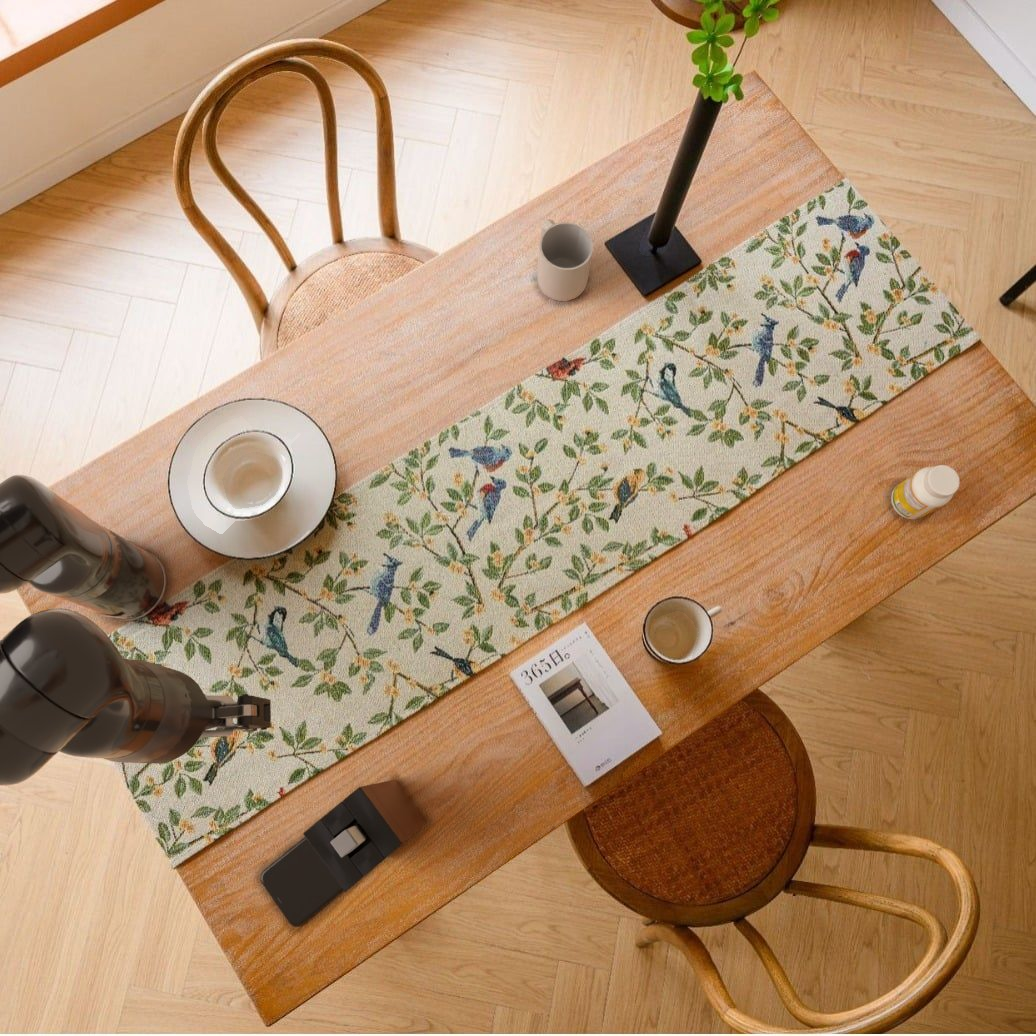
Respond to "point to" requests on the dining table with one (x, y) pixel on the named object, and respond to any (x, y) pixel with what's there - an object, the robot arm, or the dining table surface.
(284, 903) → the smartphone
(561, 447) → the dining table surface
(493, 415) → the dining table surface
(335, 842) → the grey square peg
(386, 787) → the holder
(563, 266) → the cup
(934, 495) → the supplement bottle
